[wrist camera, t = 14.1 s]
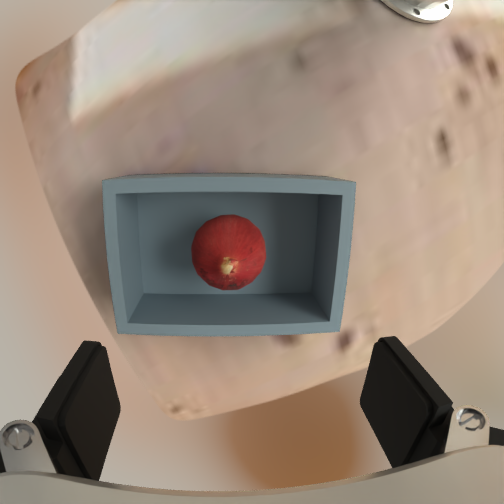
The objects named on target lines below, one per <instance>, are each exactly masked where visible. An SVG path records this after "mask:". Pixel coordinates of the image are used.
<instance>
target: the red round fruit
mask: <svg viewBox="0 0 504 504" xmlns="http://www.w3.org/2000/svg"><path fill="white" fill-rule="evenodd" d="M191 253H192V263H193V265H194V268H195V270H196V272H197V274H198V276H200V277H201V278H202V279H203V280H204V281H205V282H206V283H207V284H208V285H209V286H212V287H215V288H218V289H220V290H239V289H241V288H243V287H245V286H246V285H248V284H250V283H252V282H253V281H254V279H255V278H256V277H257V276H258V275H259V274H260V273H261V271H262V269H263V266H264V263H265V260H266V247H265V241H264V238H263V236H262V234H261V231H260V229H259V228H258V227H256V226H255V225H254V224H253V223H252V222H251V221H250V220H249V219H247V218H244V217H241V216H238V215H235V214H231V215H220V216H218V217H215V218H213V219H211V220H208V221H206V222H205V223H204V224H203V225H202V226H201V227H200V228H199V229H198V230H197V231H196V233H195V236H194V239H193V242H192V245H191Z"/></svg>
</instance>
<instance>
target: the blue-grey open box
mask: <svg viewBox="0 0 504 504" xmlns="http://www.w3.org/2000/svg"><path fill="white" fill-rule="evenodd" d="M102 190H103V212H104V228H105V240H106V251H107V261H108V270H109V279H110V287H111V294H112V301H113V308H114V314H115V320H116V326H117V332H118V334H136V335H162V336H265V335H291V334H310V333H327V332H340V326H341V320H342V313H343V306H344V299H345V292H346V284H347V276H348V268H349V259H350V250H351V240H352V230H353V219H354V206H355V192H356V182H353V181H348V180H343V179H337V178H332V177H326V176H309V175H287V174H255V173H173V174H142V175H127V176H122V177H116V178H111V179H106V180H102ZM231 214H235V215H238V216H241V217H244V218H247V219H249V220H250V221H251V222H252V223H253V224H254V225H255V226H256V227H258V228H259V229H260V231H261V234H262V236H263V238H264V241H265V247H266V260H265V263H264V266H263V269H262V271H261V273H260V274H259V275H258V276H257V277H256V278H255V279H254V281H253V282H252V283H250V284H248V285H246V286H245V287H243V288H241V289H239V290H220V289H218V288H215V287H212V286H209V285H208V284H207V283H206V282H205V281H204V280H203V279H202V278H201V277H200V276H198V274H197V272H196V270H195V268H194V265H193V263H192V253H191V245H192V242H193V239H194V236H195V233H196V231H197V230H198V229H199V228H200V227H201V226H202V225H203V224H204V223H205V222H206V221H208V220H211V219H213V218H215V217H218V216H220V215H231Z"/></svg>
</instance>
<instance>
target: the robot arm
mask: <svg viewBox="0 0 504 504" xmlns="http://www.w3.org/2000/svg"><path fill="white" fill-rule="evenodd" d="M381 1H382V2H384V3H385V4H386V5H387V6H388V7H390V8H391V9H393V10H394V11H396V12H397V13H399V14H401V15H403V16H405V17H407V18H409V19H412V20H414V21H418V22H422V23H434V22H438V21H440V20H442V19H445V18H446V17H447V16H448V15H449V14H450V12H451V11H452V7H453V0H381ZM452 404H453V402H452V401H451V400H450V398H449V397H448V396H447V395H446V394H445V393H444V391H443V390H442V389H441V388H440V387H439V385H438V384H437V383H436V382H435V381H434V379H433V378H432V377H431V376H430V375H429V374H428V372H426V370H425V369H424V368H423V367H422V366H421V364H420V363H419V362H418V361H417V360H416V359H415V358H414V356H413V355H412V354H411V353H410V352H409V351H408V350H407V348H406V347H405V346H404V345H403V344H402V343H401V342H400V340H399V339H398V338H397V337H395V336H391V337H382V338H380V339H379V340H378V342H376V343H375V344H374V347H373V351H372V355H371V359H370V363H369V367H368V371H367V375H366V379H365V383H364V386H363V390H362V394H361V397H360V405H361V408H362V410H363V412H364V413H365V416H366V418H367V419H368V421H369V423H370V425H371V427H372V429H373V431H374V433H375V435H376V437H377V439H378V441H379V443H380V445H381V447H382V448H383V450H384V452H385V454H386V456H387V458H388V460H389V462H390V464H391V466H392V468H391V469H388V470H384V471H380V472H376V473H372V474H368V475H363V476H358V477H354V478H349V479H343V480H338V481H333V482H326V483H320V484H313V485H306V486H298V487H290V488H280V489H268V490H253V491H182V490H166V489H155V488H146V487H137V486H129V485H122V484H114V483H108V482H102V481H99V479H100V475H101V472H102V469H103V465H104V462H105V459H106V455H107V452H108V449H109V445H110V442H111V439H112V436H113V433H114V429H115V427H116V424H117V421H118V418H119V414H120V402H119V398H118V395H117V391H116V387H115V383H114V380H113V375H112V372H111V368H110V363H109V359H108V355H107V350H106V348H105V347H104V346H102V345H101V343H100V342H96V341H83V342H82V344H81V345H80V347H79V348H78V350H77V352H76V353H75V354H74V356H73V358H72V359H71V360H70V362H69V364H68V365H67V367H66V369H65V370H64V371H63V373H62V375H61V376H60V377H59V378H58V380H57V381H56V383H55V385H54V386H53V388H52V390H51V391H50V393H49V395H48V397H47V398H46V400H45V401H44V403H43V404H42V406H41V408H40V409H39V411H38V413H37V415H36V416H35V418H34V420H33V421H32V422H29V421H27V420H15V421H12V422H10V423H8V424H6V425H5V426H4V427H3V428H2V429H1V431H0V504H504V430H501V429H497V428H493V427H490V422H489V418H488V416H487V414H486V413H485V412H484V411H483V410H481V409H479V408H478V407H474V406H470V405H463V406H460V407H458V408H456V409H455V410H454V409H453V408H452Z"/></svg>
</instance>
